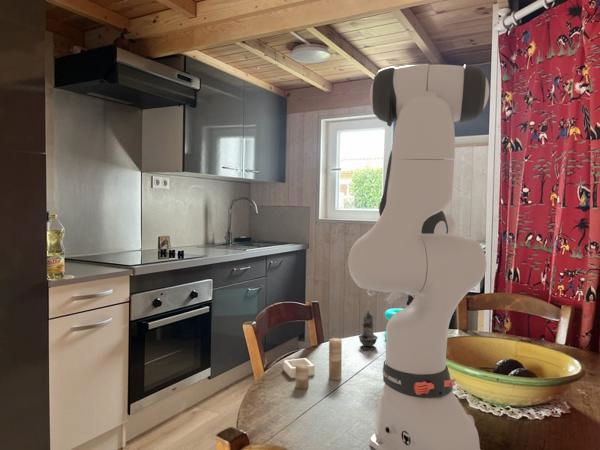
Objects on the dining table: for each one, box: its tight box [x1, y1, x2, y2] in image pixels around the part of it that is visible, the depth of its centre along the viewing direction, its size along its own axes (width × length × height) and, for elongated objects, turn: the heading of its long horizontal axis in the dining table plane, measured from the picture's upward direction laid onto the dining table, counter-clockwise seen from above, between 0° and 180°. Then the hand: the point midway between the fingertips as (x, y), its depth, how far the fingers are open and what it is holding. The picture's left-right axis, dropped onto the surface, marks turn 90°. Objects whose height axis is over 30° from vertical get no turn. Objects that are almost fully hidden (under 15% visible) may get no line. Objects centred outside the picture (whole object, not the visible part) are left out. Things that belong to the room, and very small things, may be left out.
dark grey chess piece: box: [358, 310, 378, 352], centre depth 140 cm, size 6×6×12 cm
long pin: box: [328, 337, 343, 382], centre depth 115 cm, size 3×3×10 cm
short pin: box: [295, 365, 310, 391], centre depth 109 cm, size 3×3×5 cm
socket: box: [283, 357, 315, 379], centre depth 119 cm, size 6×6×2 cm
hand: (378, 298), depth 119 cm, fingers open, 8 cm apart
